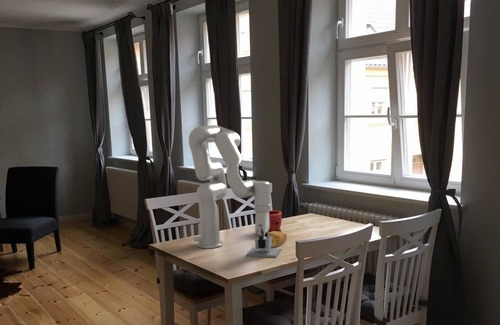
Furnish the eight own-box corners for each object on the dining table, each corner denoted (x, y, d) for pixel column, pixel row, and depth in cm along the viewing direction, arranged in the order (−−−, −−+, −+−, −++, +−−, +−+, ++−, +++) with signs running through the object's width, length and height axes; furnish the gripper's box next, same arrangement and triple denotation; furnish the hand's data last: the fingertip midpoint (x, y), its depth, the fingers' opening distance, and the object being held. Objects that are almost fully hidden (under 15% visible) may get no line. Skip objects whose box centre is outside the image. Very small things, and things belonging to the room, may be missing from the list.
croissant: (265, 257, 218) (270, 244, 215) (250, 245, 223) (255, 232, 220) (289, 246, 234) (295, 233, 231) (275, 234, 239) (280, 222, 236)
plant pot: (282, 230, 254) (281, 209, 253) (281, 237, 241) (281, 214, 240) (259, 231, 255) (258, 210, 254) (257, 237, 242) (256, 215, 241)
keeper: (246, 256, 209) (245, 240, 208) (252, 249, 220) (252, 234, 219) (276, 257, 205) (275, 241, 205) (281, 250, 216) (280, 235, 215)
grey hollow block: (255, 249, 210) (255, 239, 210) (258, 245, 216) (258, 235, 216) (269, 249, 208) (268, 240, 208) (271, 245, 214) (271, 236, 214)
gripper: (259, 204, 220) (260, 240, 221) (249, 211, 203) (251, 250, 205) (274, 204, 218) (275, 241, 219) (266, 212, 201) (267, 251, 203)
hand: (263, 245), depth 212 cm, fingers closed on grey hollow block, 6 cm apart
